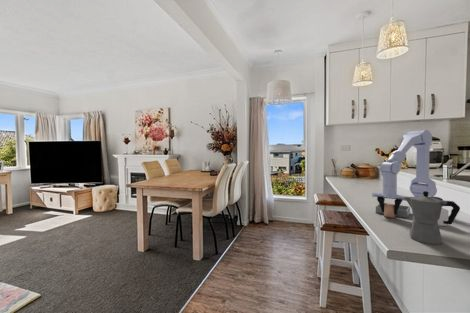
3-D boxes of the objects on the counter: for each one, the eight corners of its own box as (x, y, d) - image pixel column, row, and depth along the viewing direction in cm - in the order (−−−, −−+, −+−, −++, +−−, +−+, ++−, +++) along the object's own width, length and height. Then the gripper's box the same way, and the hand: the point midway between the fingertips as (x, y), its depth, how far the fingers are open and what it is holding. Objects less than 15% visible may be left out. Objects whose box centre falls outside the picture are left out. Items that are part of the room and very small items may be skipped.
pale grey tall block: (448, 226, 93) (449, 199, 93) (429, 225, 94) (430, 198, 94) (436, 221, 100) (437, 195, 100) (419, 220, 101) (419, 195, 101)
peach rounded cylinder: (395, 216, 106) (395, 204, 106) (394, 218, 103) (394, 206, 103) (384, 214, 110) (384, 202, 109) (382, 216, 106) (382, 204, 106)
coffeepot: (399, 236, 82) (399, 190, 81) (407, 231, 87) (408, 187, 87) (456, 252, 69) (457, 197, 69) (462, 244, 74) (462, 193, 74)
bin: (410, 213, 113) (410, 206, 112) (406, 218, 104) (406, 211, 104) (380, 208, 122) (380, 202, 122) (375, 212, 113) (375, 206, 113)
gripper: (370, 185, 108) (370, 211, 109) (406, 188, 98) (406, 217, 98) (374, 183, 113) (373, 209, 114) (409, 186, 103) (408, 214, 103)
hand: (389, 212), depth 106 cm, fingers closed on peach rounded cylinder, 5 cm apart
